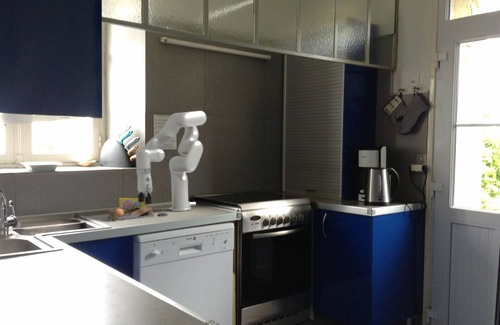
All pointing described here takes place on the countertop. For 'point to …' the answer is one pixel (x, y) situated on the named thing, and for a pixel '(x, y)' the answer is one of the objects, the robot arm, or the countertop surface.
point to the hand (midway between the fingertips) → (144, 202)
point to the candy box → (130, 204)
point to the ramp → (144, 210)
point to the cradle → (162, 214)
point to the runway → (131, 216)
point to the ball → (119, 212)
